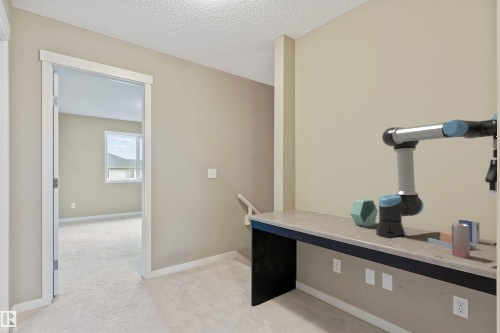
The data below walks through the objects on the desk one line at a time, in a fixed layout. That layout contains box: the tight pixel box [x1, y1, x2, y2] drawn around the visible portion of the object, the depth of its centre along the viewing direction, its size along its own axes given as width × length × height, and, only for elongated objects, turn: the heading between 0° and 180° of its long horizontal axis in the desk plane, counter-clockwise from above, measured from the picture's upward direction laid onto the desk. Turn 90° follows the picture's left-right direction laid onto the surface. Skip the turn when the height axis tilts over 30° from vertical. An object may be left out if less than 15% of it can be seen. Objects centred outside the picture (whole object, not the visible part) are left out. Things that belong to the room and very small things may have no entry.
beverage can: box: [451, 222, 471, 259], centre depth 111 cm, size 6×6×15 cm
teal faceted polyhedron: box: [350, 198, 379, 227], centre depth 177 cm, size 17×8×21 cm
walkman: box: [458, 219, 481, 244], centre depth 132 cm, size 8×3×12 cm, turn 25°
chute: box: [427, 237, 477, 251], centre depth 125 cm, size 16×11×4 cm
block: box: [439, 231, 452, 244], centre depth 125 cm, size 6×6×6 cm
